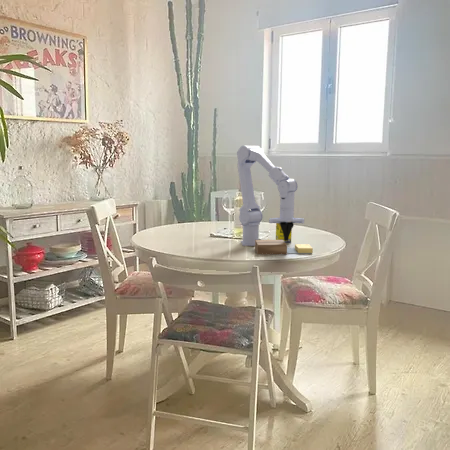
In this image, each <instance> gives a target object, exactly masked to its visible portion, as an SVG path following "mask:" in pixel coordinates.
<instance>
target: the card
mask: <svg viewBox="0 0 450 450" xmlns="http://www.w3.org/2000/svg"><path fill="white" fill-rule="evenodd" d="M294 248H295V250H296V251H297V252H298V253H314V252H313V251H314V250H313V249H314V248H313V247H312V246H311V245H310V244H309V243H307V244H304V243H301V244H299V243H297V244H296V243H294Z"/></svg>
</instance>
